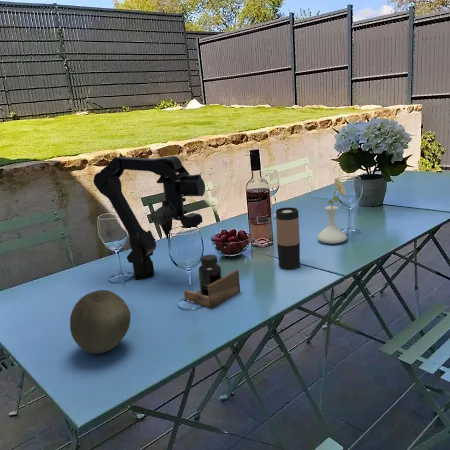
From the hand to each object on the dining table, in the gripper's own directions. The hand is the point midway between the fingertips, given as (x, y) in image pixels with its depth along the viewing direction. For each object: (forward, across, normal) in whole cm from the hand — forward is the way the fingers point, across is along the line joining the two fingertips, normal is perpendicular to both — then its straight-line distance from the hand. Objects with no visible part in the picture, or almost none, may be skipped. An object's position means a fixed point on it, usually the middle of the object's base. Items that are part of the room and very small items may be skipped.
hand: (178, 242), depth 142 cm
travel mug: (+13, +25, +27) cm, 39 cm away
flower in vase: (+13, +26, +58) cm, 65 cm away
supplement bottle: (+13, +18, -5) cm, 22 cm away
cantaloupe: (+13, +15, -42) cm, 46 cm away
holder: (+13, +18, -5) cm, 23 cm away
